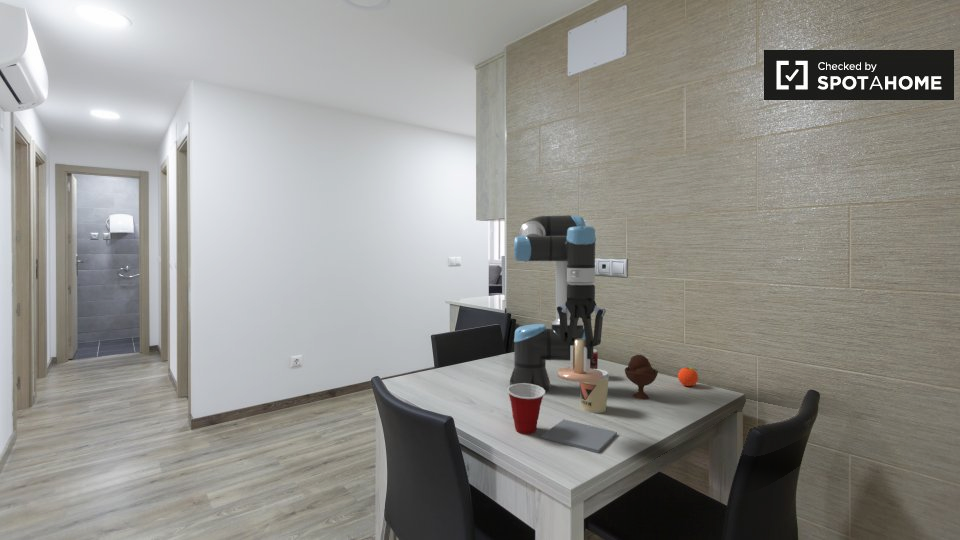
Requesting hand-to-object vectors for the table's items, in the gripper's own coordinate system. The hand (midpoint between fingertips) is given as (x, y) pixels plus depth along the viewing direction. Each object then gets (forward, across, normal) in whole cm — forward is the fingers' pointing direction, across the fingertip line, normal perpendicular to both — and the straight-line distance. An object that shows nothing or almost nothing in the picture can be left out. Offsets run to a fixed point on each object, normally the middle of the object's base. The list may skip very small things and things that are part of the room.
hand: (580, 369), depth 122 cm
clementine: (+19, +15, +68) cm, 72 cm away
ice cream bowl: (+19, +4, +44) cm, 48 cm away
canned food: (+19, -21, +57) cm, 64 cm away
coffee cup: (+19, -5, +23) cm, 30 cm away
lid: (+2, 0, 0) cm, 2 cm away
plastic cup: (+19, -14, -5) cm, 24 cm away
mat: (+19, 0, 0) cm, 19 cm away
